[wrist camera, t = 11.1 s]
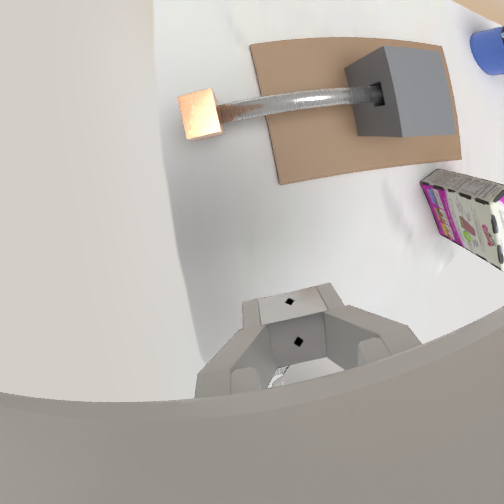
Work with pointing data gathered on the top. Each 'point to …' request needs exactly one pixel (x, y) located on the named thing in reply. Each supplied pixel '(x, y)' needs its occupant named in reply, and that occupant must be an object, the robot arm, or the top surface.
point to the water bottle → (489, 50)
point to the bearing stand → (358, 105)
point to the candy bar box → (468, 212)
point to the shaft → (263, 106)
